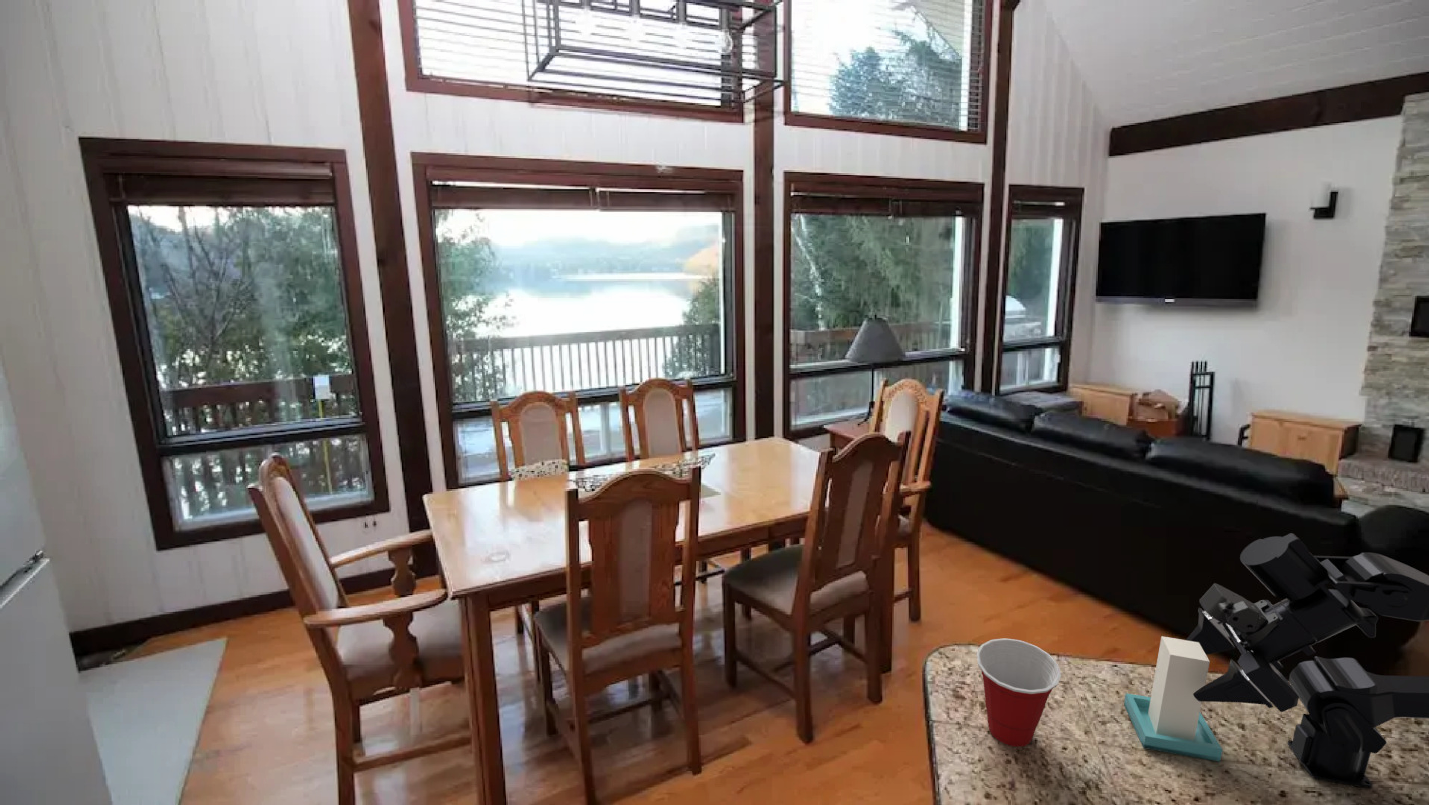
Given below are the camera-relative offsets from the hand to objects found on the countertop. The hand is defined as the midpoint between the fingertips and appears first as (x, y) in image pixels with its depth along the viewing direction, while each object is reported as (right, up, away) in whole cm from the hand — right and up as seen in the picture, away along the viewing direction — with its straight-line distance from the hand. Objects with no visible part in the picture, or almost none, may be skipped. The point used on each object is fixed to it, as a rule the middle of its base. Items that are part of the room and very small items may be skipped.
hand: (1184, 676), depth 91 cm
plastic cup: (-23, -10, +3) cm, 25 cm away
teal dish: (0, -9, +3) cm, 9 cm away
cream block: (0, -8, +2) cm, 9 cm away
